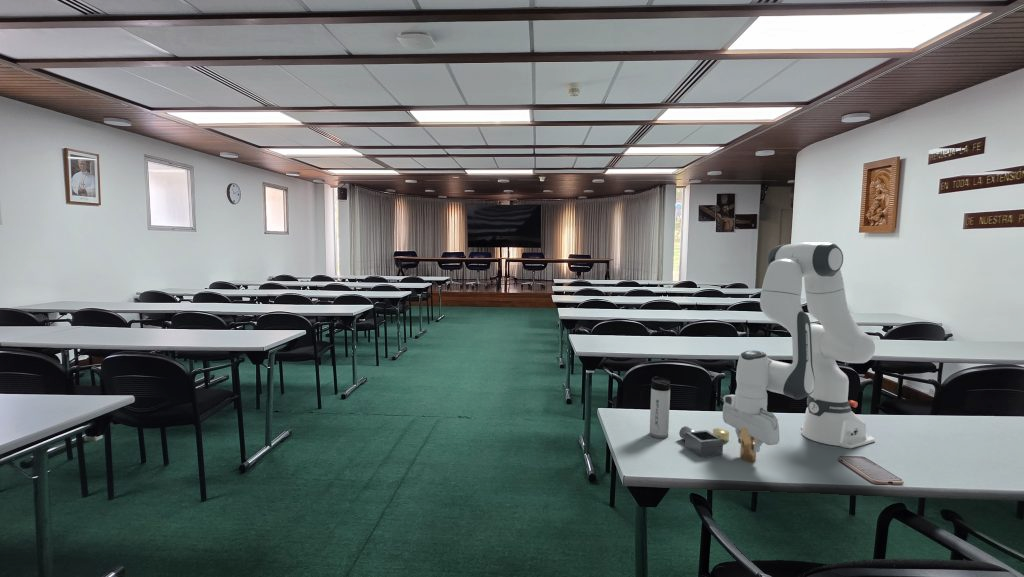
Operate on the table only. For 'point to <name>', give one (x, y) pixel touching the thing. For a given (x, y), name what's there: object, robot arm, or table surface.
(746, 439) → the copper brown cylinder
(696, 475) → the table surface
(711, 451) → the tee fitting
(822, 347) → the robot arm
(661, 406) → the travel mug
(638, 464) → the table surface
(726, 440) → the brass round knob
